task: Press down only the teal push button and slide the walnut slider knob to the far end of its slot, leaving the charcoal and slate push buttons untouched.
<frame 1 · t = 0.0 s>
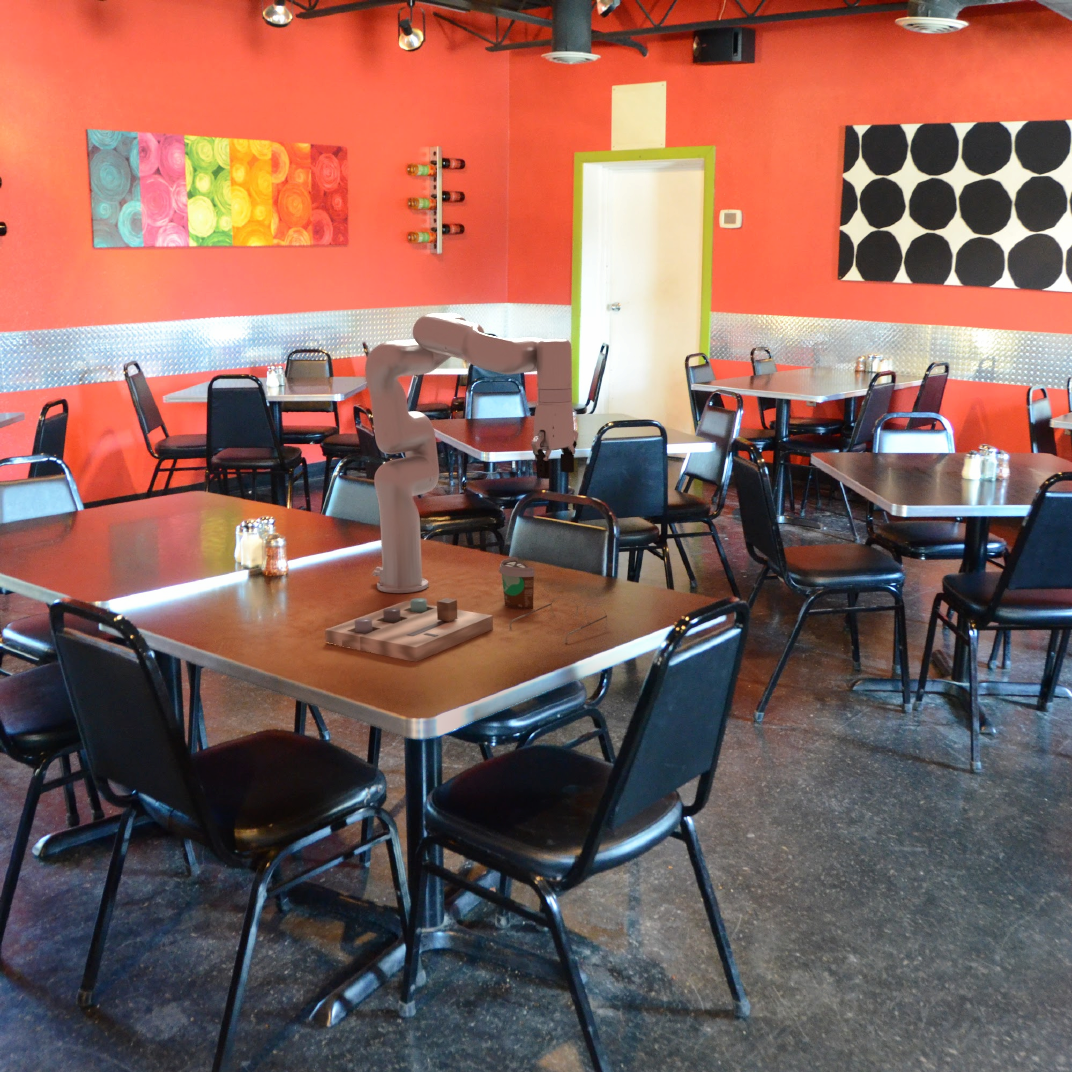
hand: (555, 475, 255), 31 cm above the table, fingers open, 9 cm apart
control panel: (410, 636, 245), on the table
eyeglasses: (560, 631, 250), on the table
slate button: (363, 627, 240), point 3 cm above the table, slide at 0.0 cm
charcoal button: (392, 616, 247), point 3 cm above the table, slide at 0.0 cm
teal button: (418, 607, 255), point 3 cm above the table, slide at 0.0 cm
walnut slider: (447, 609, 245), point 5 cm above the table, slide at 0.0 cm
food container: (513, 606, 268), on the table
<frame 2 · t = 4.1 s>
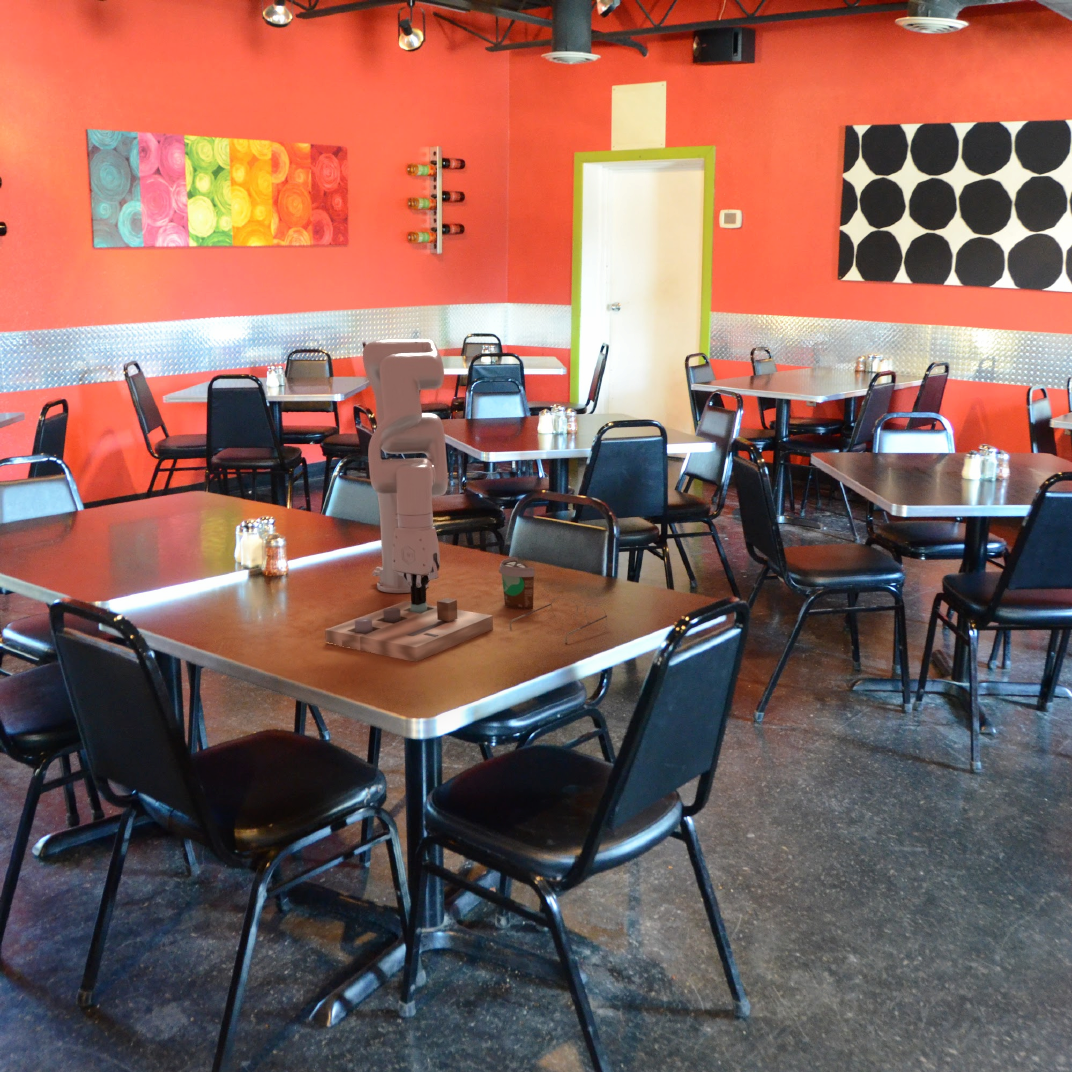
hand: (418, 603, 254), 4 cm above the table, fingers closed
teal button: (418, 609, 255), point 3 cm above the table, slide at 0.6 cm, touching gripper
everything else where it was.
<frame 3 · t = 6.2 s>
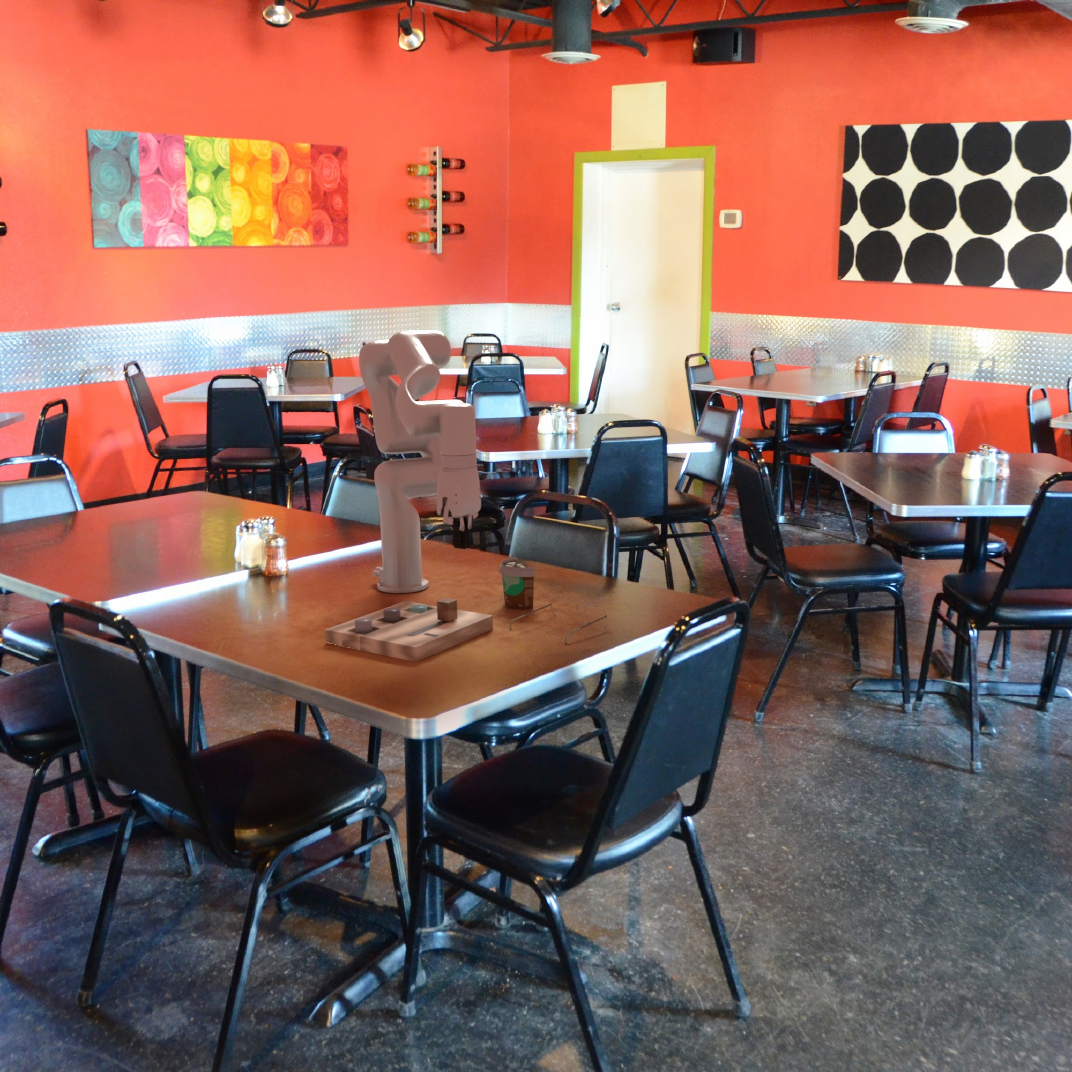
hand: (461, 547, 248), 18 cm above the table, fingers closed
teal button: (419, 613, 255), point 2 cm above the table, slide at 1.5 cm
everything else where it was.
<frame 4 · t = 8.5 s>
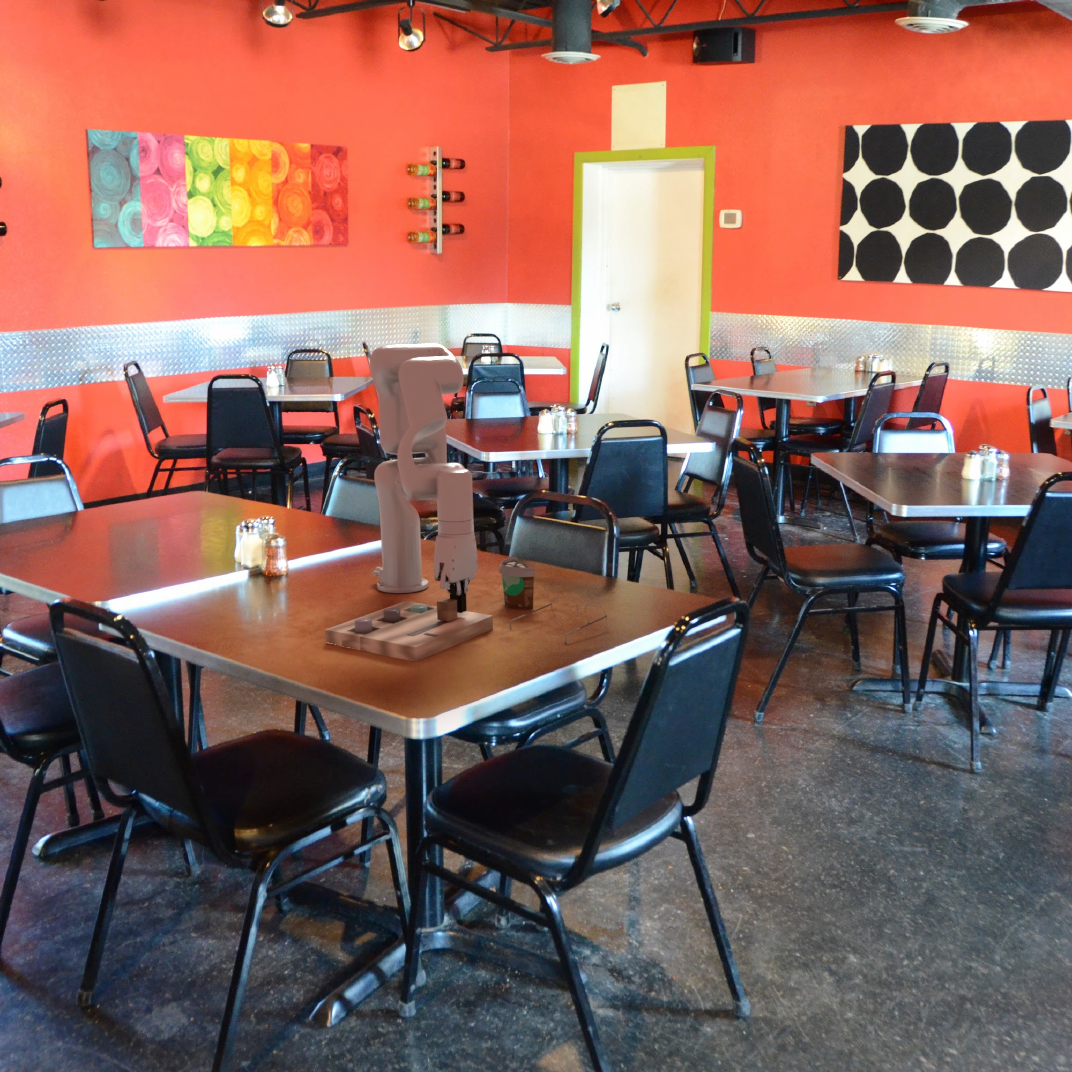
hand: (458, 611, 248), 4 cm above the table, fingers closed
walnut slider: (447, 609, 245), point 5 cm above the table, slide at 0.0 cm, touching gripper
everything else where it was.
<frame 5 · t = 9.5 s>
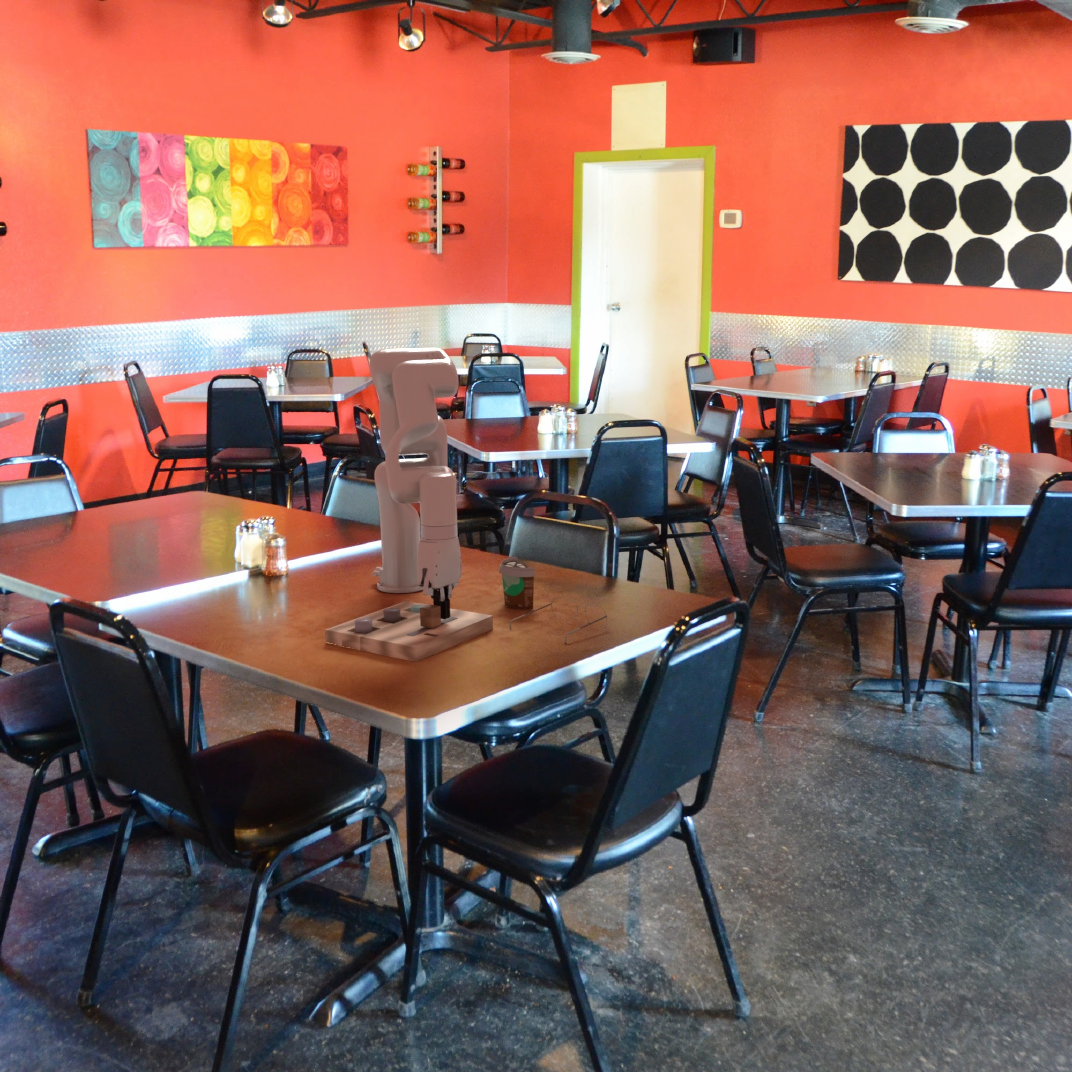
hand: (442, 617, 244), 4 cm above the table, fingers closed
walnut slider: (430, 616, 240), point 5 cm above the table, slide at 5.7 cm, touching gripper
everything else where it was.
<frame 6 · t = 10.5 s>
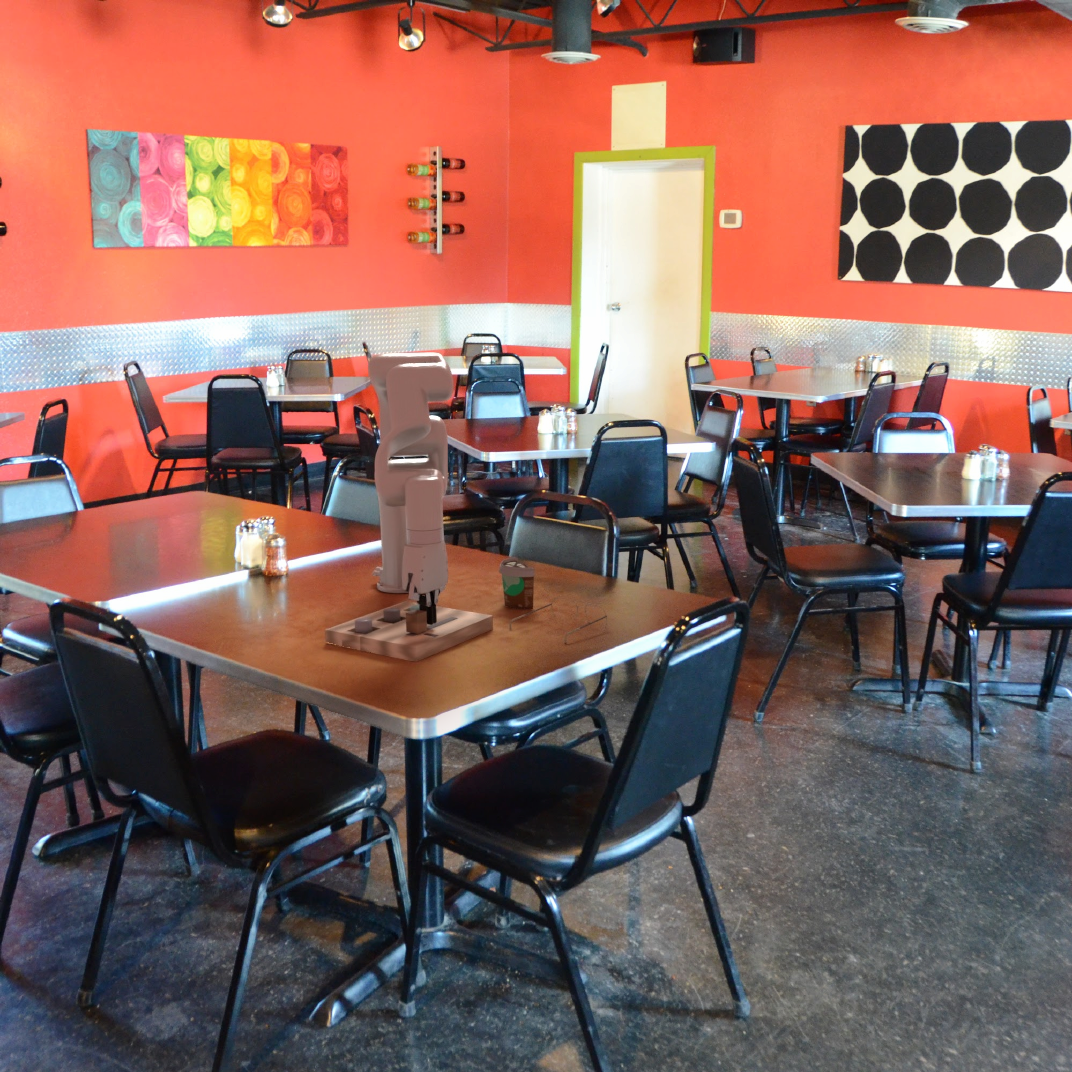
hand: (428, 622, 240), 4 cm above the table, fingers closed
walnut slider: (416, 621, 237), point 5 cm above the table, slide at 10.2 cm, touching gripper
everything else where it was.
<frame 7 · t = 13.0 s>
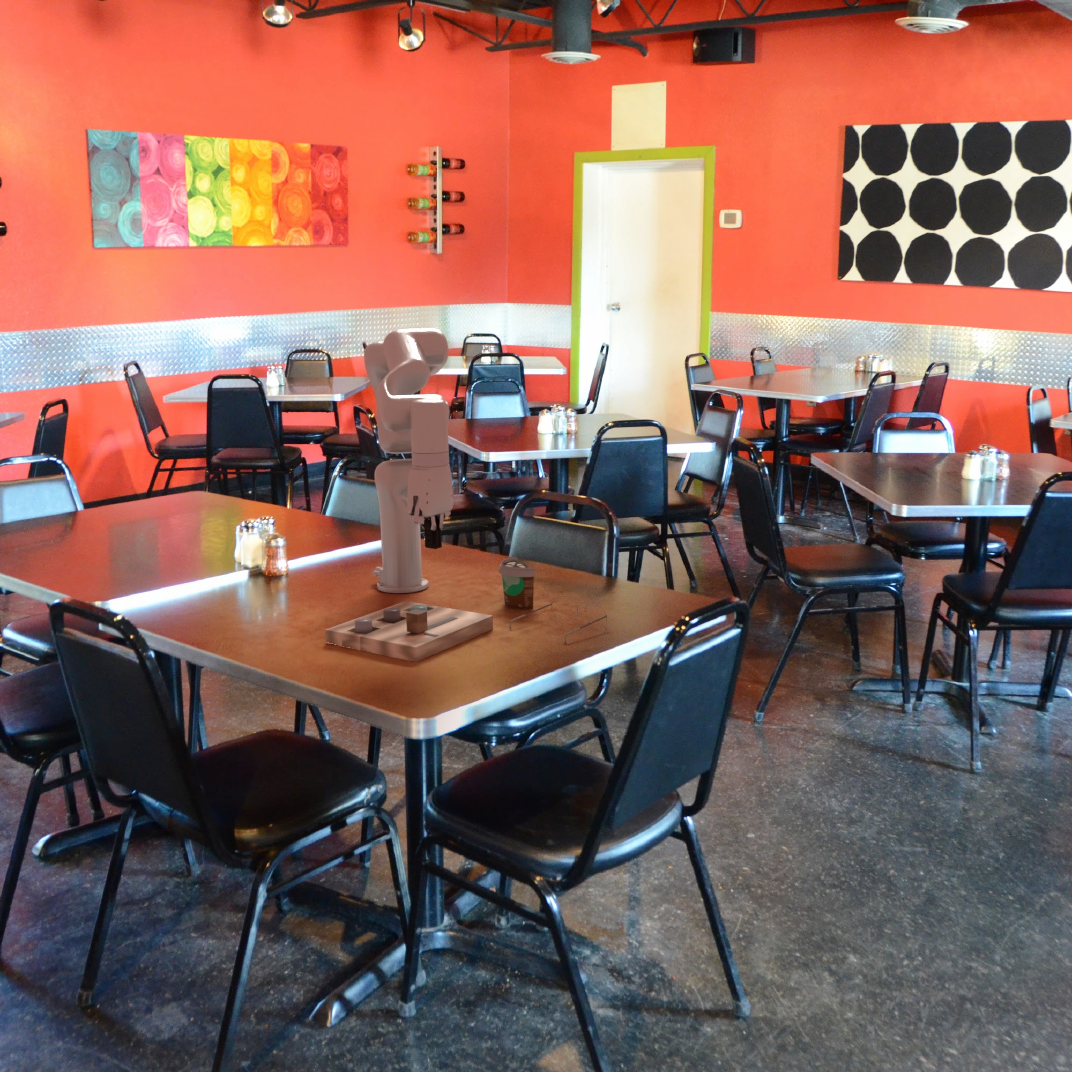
hand: (433, 547, 241), 19 cm above the table, fingers closed
walnut slider: (416, 621, 237), point 5 cm above the table, slide at 10.1 cm
everything else where it was.
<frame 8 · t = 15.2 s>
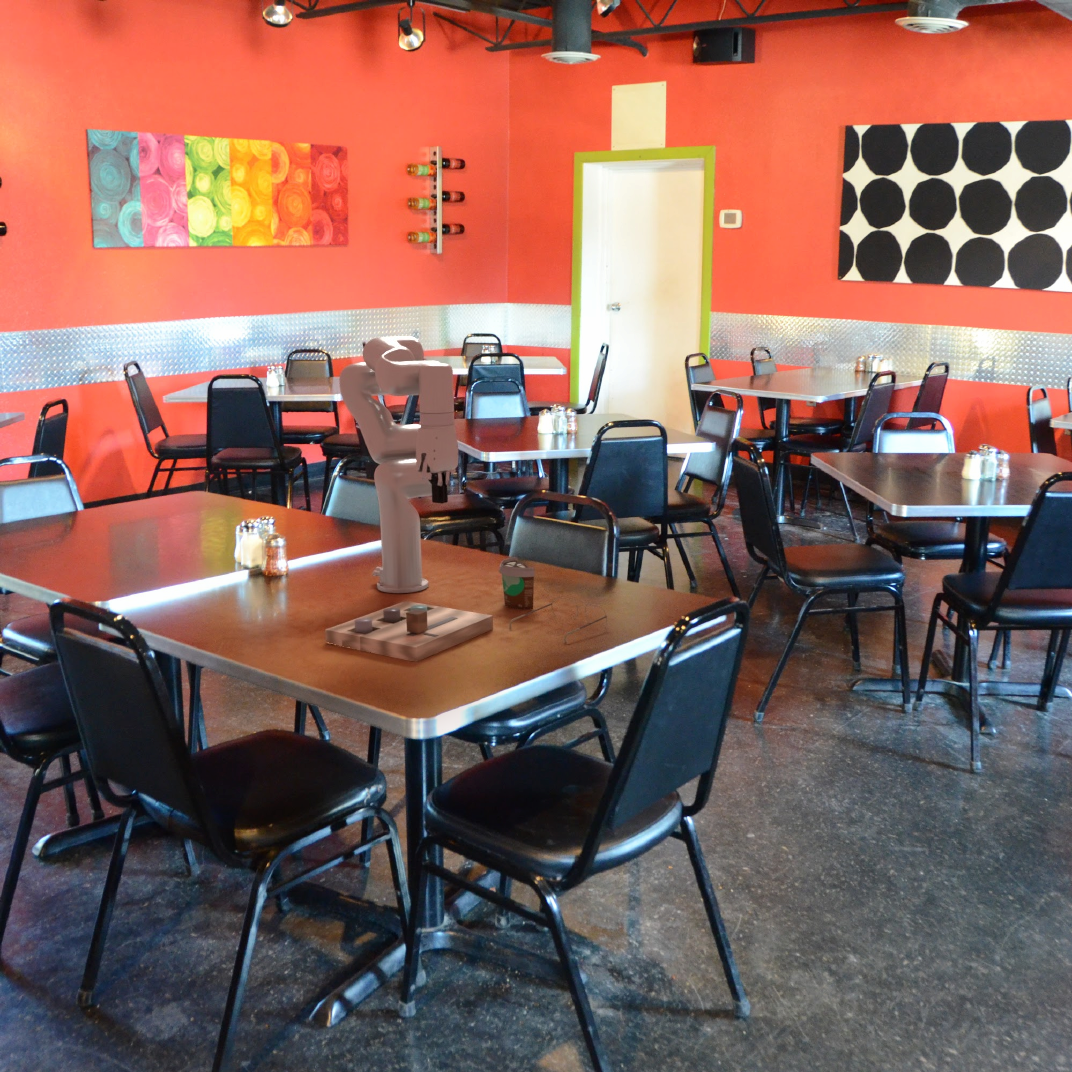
hand: (440, 502, 259), 25 cm above the table, fingers closed
nothing on the table moved.
at the end: teal button slide at 1.5 cm; walnut slider slide at 10.1 cm; charcoal button slide at 0.0 cm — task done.
